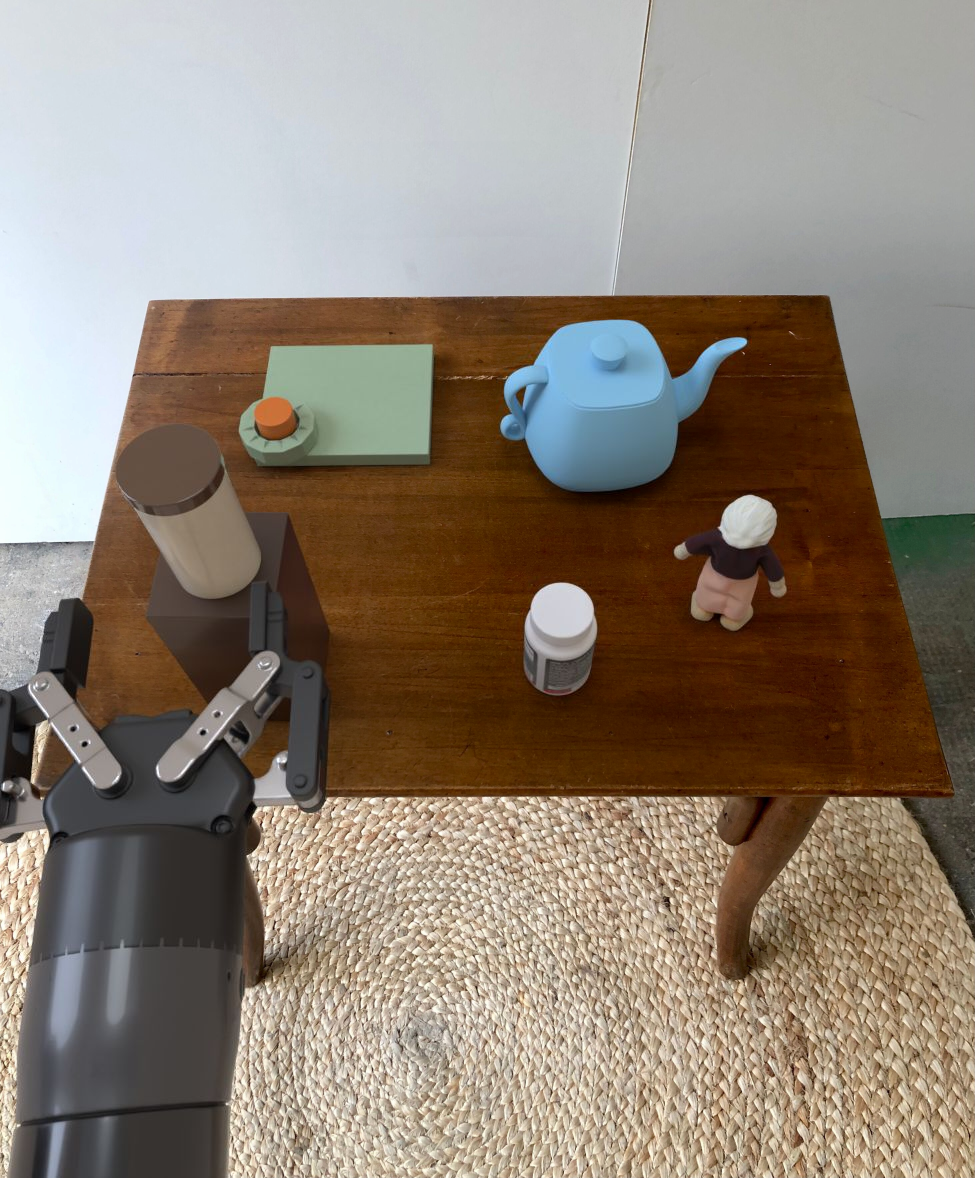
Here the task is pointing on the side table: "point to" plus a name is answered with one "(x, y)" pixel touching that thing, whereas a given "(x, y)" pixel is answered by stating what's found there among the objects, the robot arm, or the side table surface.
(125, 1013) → the robot arm
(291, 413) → the tare button
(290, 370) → the scale
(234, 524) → the spice jar
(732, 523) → the grandmother figurine
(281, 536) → the stand
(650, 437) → the teapot
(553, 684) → the pill bottle
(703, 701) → the side table surface
